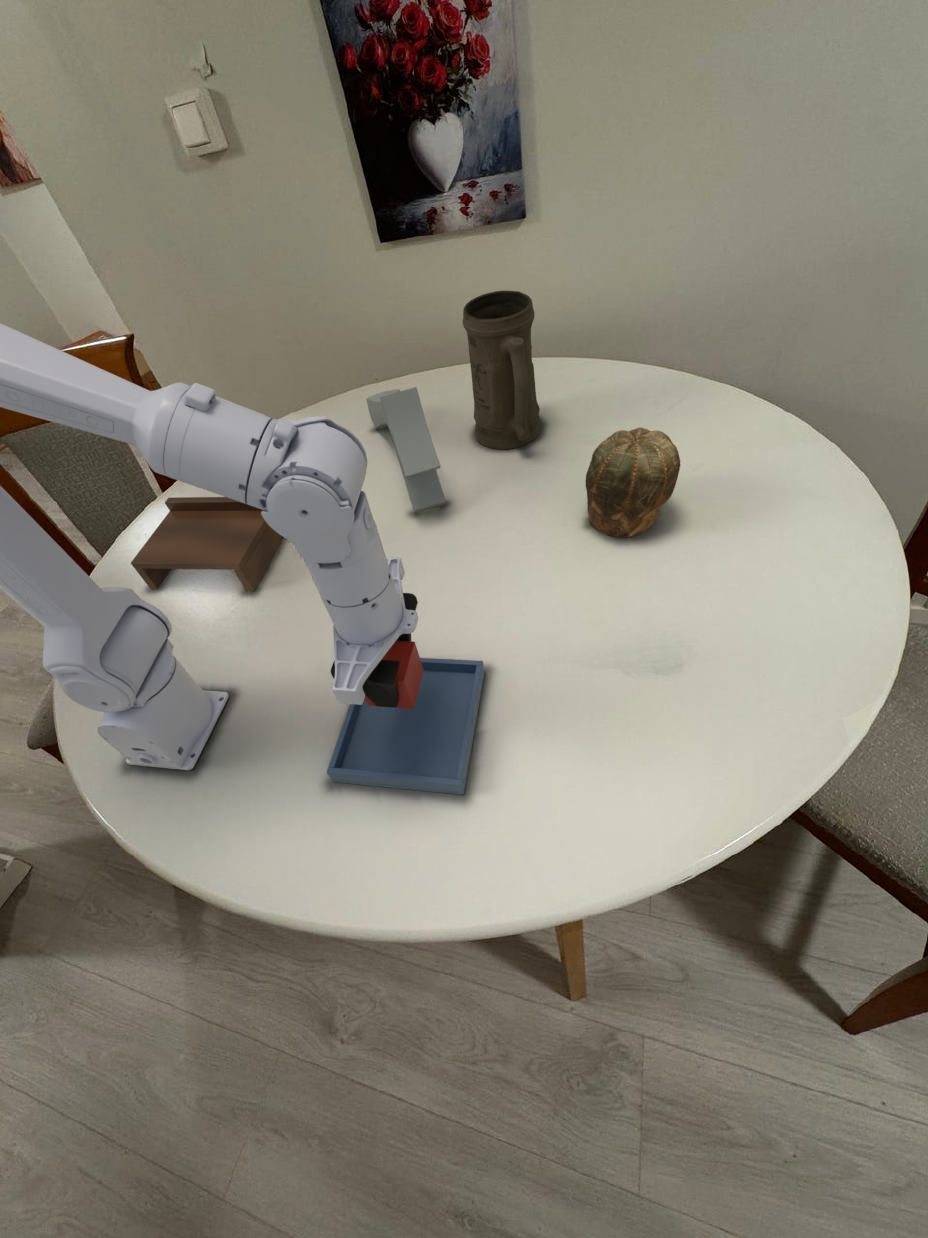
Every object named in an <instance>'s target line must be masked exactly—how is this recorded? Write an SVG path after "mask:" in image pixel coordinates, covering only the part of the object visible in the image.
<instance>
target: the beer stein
mask: <svg viewBox="0 0 928 1238" xmlns="http://www.w3.org/2000/svg"><path fill="white" fill-rule="evenodd" d="M534 320H535V309H534V305H533V299H532V298H531V297H530V296H529V295H528V294H526V293H524V292H521V291H518V290H496V291H491V292H486V293H483V294H480V295H478V296H476V297H474V298H471V300H469V301H468V302H467V303H466V304H465V305H464V307H463V309H462V325H463V328H464V329H465V331H466V336H467V343H468V344H467V345H468V354H469V355H468V356H469V364H470V365H469V366H470V374H471V385H472V386H471V387H472V395H473V419H474V422H475V425H474V435H475V438H476V440H477V441H478V442H479V443H480V444H481V445H483V446H485V447H487V448H491V449H497V450H508V449H515V448H519V447H522V446H525V445H526V444H528V443H530V442H532V441H533V440H535V439H536V438H537V437H538V436H539V435H540V433H541V430H542V421H541V418H540V414H539V413H540V411H541V410H540V409H541V408H540V405H539V403H538V400H537V398H538V397H537V391H536V377H535V368H534V363H533V357H532V356H533V355H532V349H533V346H532V326H533V323H534Z"/></svg>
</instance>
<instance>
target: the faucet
mask: <svg viewBox="0 0 928 1238" xmlns="http://www.w3.org/2000/svg"><path fill="white" fill-rule="evenodd" d="M365 399H366V405H367V409H368V412H369V416H370V419H371V422H372V424H373V427H374V429H383V428H384V429H385V428H388V430H389V434H390V437H391V440H392V443H393V447H394V450H395V454H396V458H397V461H398V465H399V468H400V470H401V474H402V476H403V477H402V478H403V481H404V485H405V487H406V491H407V493H408V497H409V500H410V504H411V508H412V511H413V514H414V515H415V514H419V513H422V512H425V511H428V510H431V509H435V508H439V507H442V506H444V505H445V503H446V501H447V500H446V497H445V493H444V491H443V488H442V484H441V481H440V477H439V475H438V471H437V470H438V469H441V463H440V460H439V456H438V454H437V452H436V447H435V445H434V442H433V439H432V436H431V433H430V430H429V426H428V424H427V423H428V422H427V421H426V416H425V414H424V413H425V412H424V409H423V406H422V402H421V398H420V395H419V391H418V388H417V386H414V387H410V388H407V389H403V390H401V389H400V388H397V389H390V390H384V391H381V392H378V393H375V394H373V395H370V396H368V397H366V398H365Z"/></svg>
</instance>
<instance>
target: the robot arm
mask: <svg viewBox="0 0 928 1238" xmlns="http://www.w3.org/2000/svg"><path fill="white" fill-rule="evenodd" d="M0 408H2V409H6V410H9V411H13V412H16V413H20V414H23V415H27V416H30V417H34V418H37V419H41V420H45V421H48V422H51V423H55V424H58V425H61V426H66V427H70V428H72V429H76V430H80V431H83V432H87V433H90V434H94V435H97V436H101V437H104V438H107V439H111V440H115V441H118V442H122V443H125V444H129V445H132V446H134V447H136V449H137V450H138V451H139V453H140V454H141V456H142V457H143V459H144V460H145V462H146V463H147V465H148V466H149V468H150V469H151V470H152V471H153V472H154V473H156V474H159V475H162V476H165V477H168V478H169V479H173V480H176V481H179V482H181V483H184V484H187V485H191V486H193V487H196V488H199V489H202V490H204V491H208V492H211V493H214V494H216V495H219V496H221V497H227V498H230V499H233V500H236V501H239V502H242V503H245V504H248V505H250V506H253V507H256V508H259V509H262V510H264V511H262V512H261V515H262V517H263V518H264V520H265V521H266V522H267V524H268V525H269V526H270V527H271V528H272V529H273V530H275V531H276V532H277V533H278V534H280V535H281V536H283V537H284V538H285V539H286V540H288V541H289V542H290V543H291V544H292V545H293V546H294V548H295V550H296V552H297V554H298V556H299V558H300V559H303V562H304V564H305V566H306V568H307V570H308V572H309V575H310V577H311V579H312V581H313V583H314V585H315V588H316V590H317V592H318V594H319V596H320V599H321V601H322V603H323V605H324V607H325V609H326V611H327V613H328V615H329V618H330V620H331V623H332V624H333V625H332V630H333V631H332V633H333V652H334V653H333V654H334V660H333V662H332V665H331V668H330V675H331V677H332V679H333V683H332V686H331V692H332V693H333V696H334V697H335V699H336V701H337V703H338V704H343V705H344V704H345V705H350V704H357V705H362V704H363V701H364V698H365V696H366V697H368V698H369V699H370V700H371V701H372V702H373V703H374V704H375V705H376V706H379V707H393V708H396V707H397V705H398V701H399V693H398V688H397V682H396V676H397V673H398V669H399V666H400V662H401V661H394V660H381V659H382V658H383V657H384V656H385V654H386V653H387V652H388V650H389V649H390V648H391V646H392V645H393V644H394V643H395V641H412V634H413V633H414V632H415V631H416V628H417V625H418V621H419V615H418V612H417V608H418V602H419V601H418V599H417V596H416V595H415V594H414V593H411V592H404V590H403V583H402V580H403V579H404V578H405V574H406V572H405V568H404V565H403V561H402V558H401V557H387V555H386V551H385V549H384V546H383V543H382V539H381V536H380V533H379V530H378V527H377V524H376V521H375V519H374V516H373V513H372V510H371V506H370V503H369V500H368V497H367V494H366V492H365V491H364V490H362V489H363V487H364V482H365V480H366V476H367V470H368V469H367V468H368V455H367V452H366V449H365V447H364V446H363V444H362V442H361V441H360V439H359V438H358V437H357V436H356V435H355V434H354V433H353V432H352V431H351V430H350V429H348V428H346V427H345V426H344V425H341V424H339V423H337V422H336V421H334V420H333V419H331V418H330V417H327V416H317V415H315V416H314V415H313V416H307V417H304V418H301V419H300V418H299V419H291V418H288V417H284V418H283V419H282V418H278V419H277V418H273V417H272V416H269V415H267V414H264V413H261V412H258V411H256V410H253V409H251V408H248V407H246V406H243V405H240V404H238V403H234V402H233V401H230V400H227V399H225V398H222V397H220V396H217V392H216V390H215V389H213V388H211V387H209V386H206V385H203V384H201V383H198V382H194V383H193V384H192V385H189V384H186V383H184V382H175V383H172V384H169V385H167V386H164V387H161V388H158V389H155V390H148V389H147V388H144V387H143V386H140V385H138V384H136V383H134V382H132V381H129V380H127V379H125V378H122V377H120V376H118V375H115V374H113V373H112V372H109V371H107V370H105V369H102V368H100V367H98V366H96V365H94V364H91V363H89V362H87V361H85V360H83V359H81V358H78V357H76V356H74V355H72V354H70V353H68V352H65V351H63V350H61V349H58V348H56V347H54V346H52V345H49V344H47V343H45V342H43V341H41V340H39V339H36V338H34V337H32V336H30V335H27V334H25V333H23V332H21V331H19V330H17V329H15V328H12V327H10V326H7V325H5V324H3V323H1V322H0ZM0 590H1V591H3V592H4V593H5V594H6V596H8V597H9V598H11V599H12V600H13V601H14V602H15V603H16V604H17V605H18V606H19V607H21V608H22V609H23V610H24V611H25V612H27V613H28V614H29V615H30V616H31V617H32V618H33V619H35V620H36V621H37V622H38V623H39V624H41V625H42V626H43V632H44V633H43V635H44V636H43V648H42V649H43V653H42V668H43V669H44V670H45V671H46V672H48V673H49V674H50V675H51V676H52V677H53V678H54V679H55V680H56V681H57V682H58V685H59V687H60V688H61V690H62V692H63V693H64V694H65V696H66V697H67V698H69V699H70V700H72V701H73V702H74V703H76V704H78V705H80V706H82V707H84V708H86V709H90V710H93V711H97V712H101V713H102V716H101V719H100V721H99V724H98V726H97V728H96V730H97V733H98V735H99V736H100V737H101V738H102V739H103V740H104V741H105V742H106V743H108V744H109V745H110V746H111V747H113V749H115V750H116V751H117V752H119V753H120V754H121V755H122V756H124V757H125V758H126V759H125V763H127V765H131V766H141V767H151V768H160V769H161V768H162V769H171V770H182V771H191V770H192V769H194V767H195V766H196V764H197V761H198V759H199V758H200V756H201V754H202V751H203V749H204V748H205V745H206V744H207V742H208V740H209V737H210V736H211V733H212V732H213V730H214V728H215V725H216V723H217V721H218V720H219V718H220V715H221V713H222V711H223V710H224V707H225V706H226V704H227V701H228V699H229V698H230V695H229V692H227V691H217V690H204V689H203V688H202V687H200V685H199V684H198V682H197V681H196V680H195V679H194V677H192V676H191V674H190V673H189V672H188V671H187V670H186V668H185V667H184V666H183V665H182V663H181V662H180V661H179V660H178V659H177V658H176V656H175V655H174V654H173V650H174V648H175V647H174V644H173V643H172V642H171V641H170V640H169V637H170V636H171V634H172V631H173V627H172V623H171V621H170V620H169V618H168V617H167V615H165V613H163V611H162V610H160V609H159V608H158V607H156V606H155V605H152V604H151V603H149V602H147V601H145V600H144V599H142V598H141V597H140V596H139V595H138V594H137V593H136V592H135V591H134V590H133V589H132V588H130V587H124V586H105V587H104V586H103V587H100V586H99V585H98V584H97V583H96V582H95V581H94V580H93V579H92V577H90V576H89V575H88V574H87V573H86V571H84V569H82V567H81V566H80V565H79V564H78V563H77V562H76V561H74V559H73V558H72V557H71V556H70V555H68V553H67V552H66V551H65V550H64V548H62V547H61V546H60V545H59V544H58V543H57V542H56V541H55V540H54V539H53V537H51V536H50V535H49V534H48V532H47V531H45V530H44V529H43V528H42V526H41V525H39V524H38V522H37V521H36V520H35V519H34V518H33V517H32V515H30V514H29V513H28V512H27V511H26V510H25V509H24V508H23V507H22V506H21V505H20V503H18V502H17V501H16V500H15V499H14V498H13V497H12V496H11V494H9V493H8V492H7V491H6V489H5V488H4V487H2V485H0Z"/></svg>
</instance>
